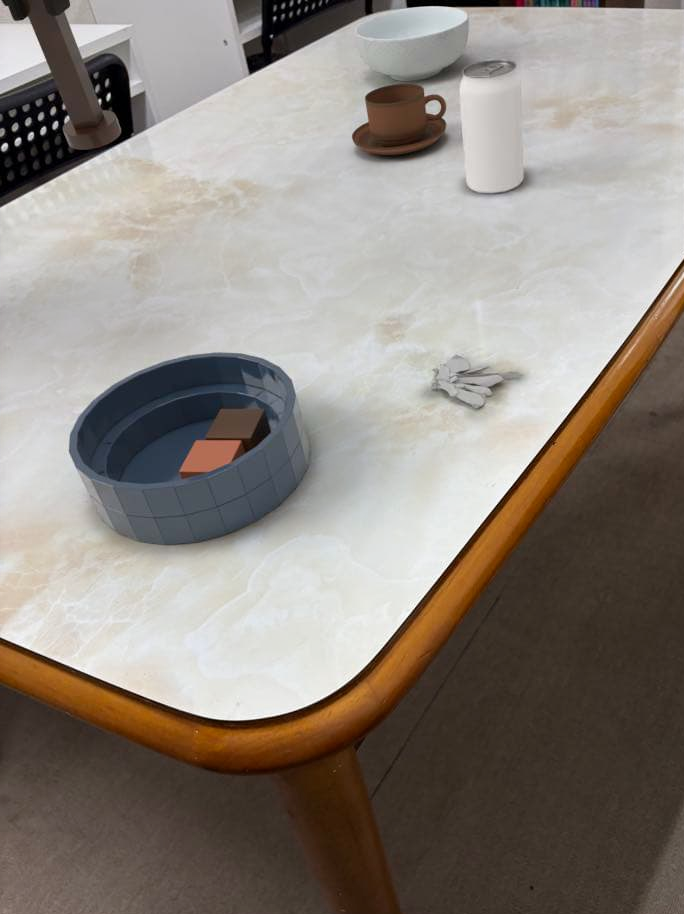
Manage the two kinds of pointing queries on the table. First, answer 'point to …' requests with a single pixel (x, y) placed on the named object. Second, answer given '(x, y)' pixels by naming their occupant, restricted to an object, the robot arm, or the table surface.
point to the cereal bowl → (413, 41)
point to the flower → (467, 380)
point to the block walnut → (240, 427)
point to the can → (492, 126)
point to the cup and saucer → (399, 121)
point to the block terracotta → (210, 456)
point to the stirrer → (72, 80)
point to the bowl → (187, 448)
